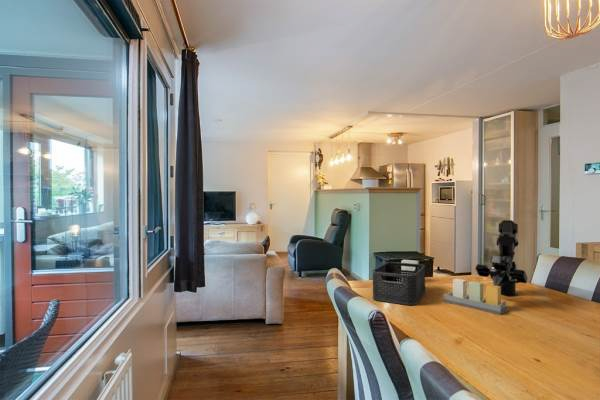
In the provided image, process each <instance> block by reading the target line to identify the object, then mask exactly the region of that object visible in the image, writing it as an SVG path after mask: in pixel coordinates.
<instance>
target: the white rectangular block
mask: <svg viewBox="0 0 600 400" xmlns="http://www.w3.org/2000/svg"><path fill="white" fill-rule="evenodd" d="M467 287H468V286H467V279H462V278H458V277H457V278H454V279H452V292H453V296H455V297H460V298H463V297H465V296H467V295H468V293H467Z"/></svg>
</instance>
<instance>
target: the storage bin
mask: <svg viewBox="0 0 600 400" xmlns="http://www.w3.org/2000/svg"><path fill="white" fill-rule="evenodd" d="M401 266H408V267H416V268H415V271H408V270H401V269H398V267H401ZM402 272H403V273H402ZM404 272H406V273H404ZM402 274H403V275H402ZM404 274H405V275H404ZM402 278H403V279H402ZM425 293H426V265H425V264H422V263H421V264H420V263H419V264H410V263H401V262H398V261H396V262H395V261H386V262H384V263H383V264H381V265H379V266H377V267H376V268H374V269H372V299H373V300H375V301H378V302H384V303H390V304H397V305H406V306H410V305H411V306H412V305H417V304H418V303H419V301H420V300H421V298H422V297H423V295H424V294H425Z"/></svg>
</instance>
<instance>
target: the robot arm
mask: <svg viewBox="0 0 600 400" xmlns="http://www.w3.org/2000/svg"><path fill="white" fill-rule="evenodd" d="M518 227H519V226H518V223H516V222H514V220H509V219H506V220H505V219H504V220H501V222H499V223H498V237H496V246H497V247H498V251H499V252H498V255H495V254H493V255H491V256H490V264H491V266H492V267H494V268H492V267H490V268H489V267H488V265H487V264H481V263H478V264H475V265H476V266H475V268H474V269H475V270H476V273H477V275H478V276H480V277H482V278H483V277H484V278H488V277H489V276H490V279H491V280H492V281H493V282H492V285H495V286H501V296H506V297H514V296H519V294H518V293H516V288H517V287H516V284H519V283H522V284H527V282H528V276H527V273H526V271H525V270H523V269H517V264H516V262H515V261H514V258H515V255H516V252H515V249H516V248H517V247H518V246H519V241H518V239H517V234H518V232H519V230H518V229H519V228H518Z"/></svg>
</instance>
